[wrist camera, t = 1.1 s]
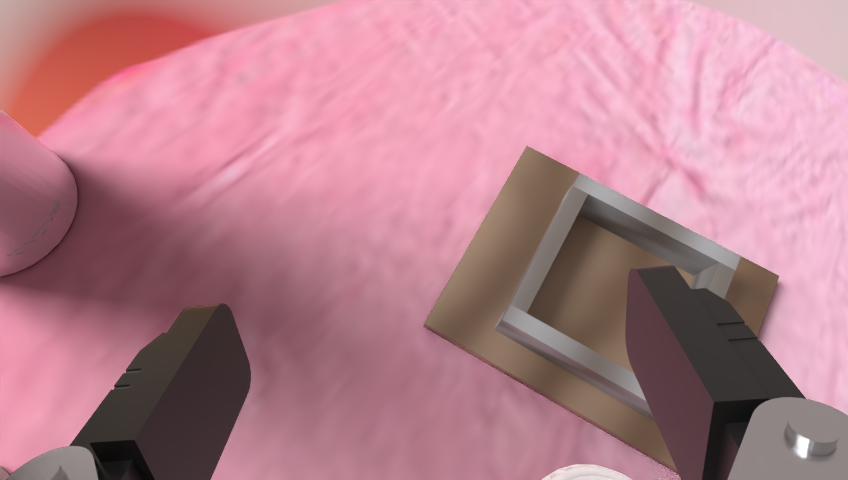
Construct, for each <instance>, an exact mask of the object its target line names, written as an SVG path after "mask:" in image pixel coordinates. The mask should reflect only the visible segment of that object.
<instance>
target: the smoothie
mask: <svg viewBox="0 0 848 480" xmlns="http://www.w3.org/2000/svg"><path fill="white" fill-rule="evenodd" d="M541 480H632V479H631V478H629V477H628V476H626V475H624V474H622V473H620V472H617V471H615V470H612V469H609V468H605V467H602V466H599V465H595V464H574V465H571V466H567V467H564V468H560V469H557V470H555V471H554V472H552V473H551V474H549V475H548V476H546V477H544V478H543V479H541Z"/></svg>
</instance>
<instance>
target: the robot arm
mask: <svg viewBox="0 0 848 480" xmlns="http://www.w3.org/2000/svg"><path fill="white" fill-rule="evenodd" d="M77 202H78V199H77V186H76V182H75V179H74V176H73V174H72V172H71V171H70V169H69V168H68V166H67V165H66V164H65V163H64V162H63V161H62V160H61V159H60V158H59V157H58V156H57V155H56V154H54V153H53V152H52V151H51V150H49V149H48V148H47V147H46V146H44V145H43V144H42V143H41V142H40V141H38V140H37V139H36V138H35V137H33V136H32V135H31V134H30V133H28V132H27V131H26V130H25V129H24V128H23V127H22V126H20V125H19V124H18V123H17V122H15V121H14V120H13V119H12V118H10V117H9V116H8V115H7V114H5V113H4V112H3V111H2V110H0V277H1V276H4V275H8V274H12V273H15V272H18V271H20V270H22V269H25V268H27V267H29V266H31V265H33V264H35V263H36V262H37V261H39V260H40V259H42V258H43V257H45V256H46V255H47V254H48V253H49V252H50V251H51V250H52V249H53V248H55V247H56V246H57V245H58V244H59V242H60V241H61V240H62V238H63V237H64V235H65V234H66V233H67V231H68V230H69V227H70V225H71V223H72V221H73V218H74V216H75V212H76V207H77ZM625 341H626V349H627V354H628V358H629V362H630V365H631V367H632V369H633V372H634V374H635V376H636V378H637V381H638V383H639V385H640V387H641V390H642V392H643V394H644V396H645V399H646V401H647V403H648V405H649V408H650V410H651V412H652V414H653V417H654V419H655V421H656V424H657V426H658V428H659V430H660V433H661V435H662V437H663V439H664V442H665V444H666V446H667V448H668V451H669V453H670V455H671V457H672V460H673V462H674V464H675V466H676V469H677V471H678V473H679V475H680V478H681V480H848V415H846V414H844V413H843V412H841V411H839V410H837V409H835V408H833V407H831V406H828V405H825V404H823V403H820V402H816V401H813V400H809V399H806V398H805V397H804V395H803V394H802V393H801V392H800V390H799V389H798V388H797V387H796V385H795V384H794V383H793V382H792V380H791V379H790V378H789V377H788V375H787V374H786V373H785V372H784V370H783V369H782V368H781V367H780V365H779V364H778V363H777V362H776V360H775V359H774V358H773V356H772V355H771V354H770V353H769V351H768V350H767V349H766V348H765V346H764V345H763V344H762V343H761V341H758V340H757V336H756V335H755V334H754V333H753V331H752V330H751V329H750V328H749V326H748V325H745V321H744V320H743V319H742V317H741V316H740V315H739V314H738V312H737V311H736V310H735V309H734V307H733V306H732V305H731V304H730V303H729V302H728V301H726V300H724V299H723V298H721V297H720V296H718V295H716V294H715V293H713V292H711V291H710V290H708V289H707V288H699V289H691V288H690V287H689V285H688V284H687V282H686V281H685V280H684V278H683V277H682V275H681V274H680V273H679V271H678V270H677V268H676V267H675V266H674V265H660V266H649V267H638V268H631V269H630V271H629V275H628V289H627V308H626V327H625ZM250 381H251V371H250V364H249V361H248V358H247V355H246V352H245V349H244V346H243V343H242V340H241V338H240V335H239V332H238V329H237V326H236V323H235V320H234V317H233V315H232V312H231V310H230V308H229V307H228V306H227V305H226V304H213V305H202V306H190V307H186V308H185V309H184V310H183V311H182V312H181V314H180V315H179V317H178V318H177V319H176V321H175V322H174V324H173V325H172V327H171V328H170V329H169V331H168V332H167V333H162V334H161V335H159V336H158V337H157V338H156V339H154V340H153V341H152V342H151V343H149V344H148V345H147V346H146V347H144V348H143V349H142V350H140V352H139V353H138V354H137V356H136V357H135V358H134V360H133V361H132V362H131V364H130V365H129V366H128V368H127V369H126V373H124V374H123V375H122V376H121V377H120V379H119V380H118V381H117V383H116V384H115V385H114V387H115V388H114V390H111V391H110V392H109V393H108V395H107V396H106V397H105V399H104V400H103V401H102V403H101V404H100V405H99V407H98V408H97V409H96V411H95V412H94V414H93V415H92V416H91V418H90V419H89V420H88V422H87V423H86V424H85V426H84V427H83V428H82V430H81V431H80V432H79V434H78V435H77V436H76V438H75V439H74V440H73V442H72V443H71V444H70V446H67V447H62V448H57V449H54V450H51V451H48V452H46V453H44V454H41V455H39V456H37V457H36V458H34V459H32V460H30V461H29V462H27V463H25V464H24V465H23V466H21V467H20V468H18V469H17V470H16V471H15V472H14V473H12V474H11V475H10V476H9V477H8V478H7V479H6V480H211V477H212V475H213V473H214V470H215V468H216V466H217V463H218V461H219V459H220V457H221V454H222V452H223V450H224V447H225V445H226V443H227V440H228V438H229V436H230V433H231V431H232V429H233V427H234V424H235V422H236V420H237V417H238V415H239V413H240V410H241V408H242V406H243V404H244V401H245V399H246V397H247V394H248V392H249V388H250Z"/></svg>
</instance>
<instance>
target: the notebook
mask: <svg viewBox="0 0 848 480" xmlns="http://www.w3.org/2000/svg"><path fill="white" fill-rule="evenodd" d="M9 476H10V474H9V473H8V472H6V471H5V470H4V469H3V468H2V467H1V466H0V480H6V479H7V478H8V477H9Z"/></svg>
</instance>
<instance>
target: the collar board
mask: <svg viewBox="0 0 848 480" xmlns="http://www.w3.org/2000/svg"><path fill="white" fill-rule="evenodd" d="M660 265H674V266H675V267H676V268H677V270H678V271H679V273H680V274H681V275H682V277H683V278H684V280H685V281H686V282H687V284H688V285H689V287H690V288H691V289H699V288H707V289H708V290H710V291H711V292H713V293H715V294H716V295H718V296H720V297H721V298H723V299H724V300H726V301H728V302H729V303H730V304H731V305H732V306H733V307H734V309H735V310H736V311H737V312H738V314H739V315H740V316H741V317H742V319H743V320H744V321H745V325H748V326H749V328H750V329H751V330H752V331H753V333H754V334H755V335H756V336H758V333H759V330H760V328H761V325H762V322H763V319H764V317H765V314H766V311H767V308H768V306H769V303H770V300H771V297H772V295H773V292H774V289H775V286H776V284H777V281H778V278H779V276H778V275H776V274H774V273H772V272H771V271H769V270H767V269H765V268H763V267H761V266H759V265H757V264H755V263H753V262H751V261H749V260H747V259H745V258H743V257H741V256H740V255H738V254H736V253H734V252H732V251H730V250H728V249H726V248H724V247H722V246H720V245H719V244H717V243H715V242H713V241H711V240H709V239H707V238H705V237H703V236H701V235H699V234H697V233H695V232H693V231H691V230H689V229H687V228H686V227H684V226H682V225H680V224H678V223H676V222H674V221H672V220H670V219H668V218H666V217H664V216H662V215H660V214H658V213H656V212H655V211H653V210H651V209H649V208H647V207H645V206H643V205H641V204H639V203H637V202H635V201H633V200H631V199H629V198H627V197H625V196H624V195H622V194H620V193H618V192H616V191H614V190H612V189H610V188H608V187H606V186H604V185H602V184H600V183H598V182H596V181H594V180H592V179H591V178H589V177H587V176H585V175H583V174H581V173H579V172H577V171H575V170H573V169H571V168H569V167H567V166H565V165H563V164H561V163H559V162H557V161H555V160H553V159H551V158H550V157H548V156H546V155H544V154H542V153H540V152H538V151H536V150H534V149H532V148H530V147H528V146H526V148H525V150H524V152H523V153H522V155H521V157H520V159H519V160H518V162H517V164H516V166H515V167H514V169H513V171H512V172H511V174H510V176H509V178H508V179H507V181H506V183H505V185H504V186H503V188H502V190H501V191H500V193H499V195H498V197H497V198H496V200H495V202H494V204H493V205H492V207H491V209H490V210H489V212H488V214H487V216H486V217H485V219H484V221H483V223H482V224H481V226H480V228H479V230H478V231H477V233H476V235H475V236H474V238H473V240H472V242H471V243H470V245H469V247H468V249H467V250H466V252H465V254H464V255H463V257H462V259H461V261H460V262H459V264H458V266H457V268H456V269H455V271H454V273H453V274H452V276H451V278H450V280H449V281H448V283H447V285H446V287H445V288H444V290H443V292H442V294H441V295H440V297H439V299H438V300H437V302H436V304H435V306H434V307H433V309H432V311H431V313H430V314H429V316H428V318H427V319H426V321H425V323H424V327H425V328H427V329H429V330H431V331H432V332H434V333H436V334H437V335H439V336H441V337H443V338H444V339H446V340H448V341H450V342H451V343H453V344H455V345H457V346H458V347H460V348H462V349H463V350H465V351H467V352H469V353H470V354H472V355H474V356H476V357H477V358H479V359H481V360H482V361H484V362H486V363H488V364H489V365H491V366H493V367H495V368H496V369H498V370H500V371H501V372H503V373H505V374H507V375H508V376H510V377H512V378H514V379H515V380H517V381H519V382H521V383H522V384H524V385H526V386H527V387H529V388H531V389H533V390H534V391H536V392H538V393H540V394H541V395H543V396H545V397H546V398H548V399H550V400H552V401H553V402H555V403H557V404H559V405H560V406H562V407H564V408H565V409H567V410H569V411H571V412H572V413H574V414H576V415H578V416H579V417H581V418H583V419H585V420H586V421H588V422H590V423H591V424H593V425H595V426H597V427H598V428H600V429H602V430H604V431H605V432H607V433H609V434H610V435H612V436H614V437H616V438H617V439H619V440H621V441H623V442H624V443H626V444H628V445H629V446H631V447H633V448H635V449H636V450H638V451H640V452H642V453H643V454H645V455H647V456H649V457H650V458H652V459H654V460H655V461H657V462H659V463H661V464H662V465H664V466H666V467H668V468H669V469H671V470H673V471H674V472H676V473H678V471H677V469H676V466H675V464H674V462H673V460H672V457H671V455H670V453H669V451H668V448H667V446H666V444H665V442H664V439H663V437H662V435H661V433H660V430H659V428H658V426H657V424H656V421H655V419H654V417H653V414H652V412H651V410H650V408H649V405H648V403H647V401H646V399H645V396H644V394H643V392H642V390H641V387H640V385H639V383H638V381H637V378H636V376H635V374H634V372H633V369H632V367H631V365H630V362H629V358H628V354H627V349H626V341H625V327H626V308H627V289H628V275H629V271H630V269H631V268H638V267H649V266H660ZM678 474H679V473H678Z"/></svg>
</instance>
